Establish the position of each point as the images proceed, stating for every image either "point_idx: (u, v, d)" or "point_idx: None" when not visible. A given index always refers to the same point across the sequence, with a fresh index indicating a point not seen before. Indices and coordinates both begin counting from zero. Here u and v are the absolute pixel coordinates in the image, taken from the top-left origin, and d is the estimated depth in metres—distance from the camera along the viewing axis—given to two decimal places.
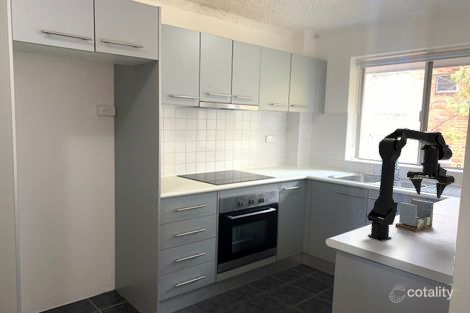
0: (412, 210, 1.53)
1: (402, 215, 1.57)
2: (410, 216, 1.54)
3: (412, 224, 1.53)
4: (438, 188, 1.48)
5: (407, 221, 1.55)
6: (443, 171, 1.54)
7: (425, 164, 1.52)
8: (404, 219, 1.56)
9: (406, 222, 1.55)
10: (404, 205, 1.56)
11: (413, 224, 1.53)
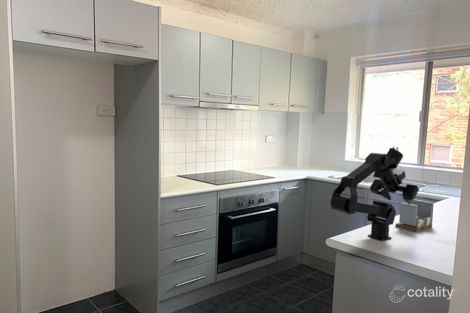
0: (412, 210, 1.53)
1: (402, 215, 1.57)
2: (410, 216, 1.54)
3: (412, 224, 1.53)
4: (407, 201, 1.43)
5: (407, 221, 1.55)
6: (402, 175, 1.45)
7: (384, 184, 1.43)
8: (404, 219, 1.56)
9: (406, 222, 1.55)
10: (404, 205, 1.56)
11: (413, 224, 1.53)
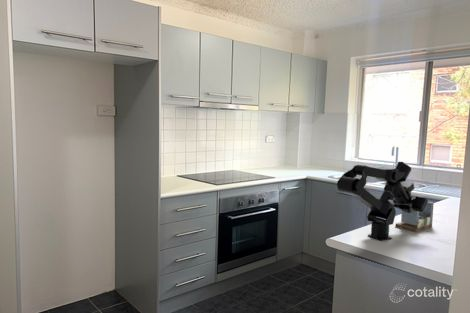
0: (414, 210, 1.54)
1: (404, 215, 1.58)
2: (412, 216, 1.55)
3: (414, 223, 1.54)
4: (406, 210, 1.51)
5: (409, 220, 1.56)
6: (411, 187, 1.50)
7: (394, 197, 1.48)
8: (406, 218, 1.57)
9: (408, 221, 1.56)
10: None
11: (415, 223, 1.54)
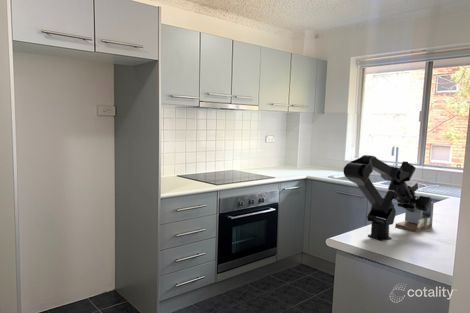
0: None
1: (408, 214, 1.59)
2: (416, 215, 1.57)
3: None
4: (410, 209, 1.53)
5: (413, 219, 1.58)
6: (415, 187, 1.52)
7: (398, 196, 1.50)
8: (410, 217, 1.59)
9: (412, 220, 1.58)
10: None
11: None
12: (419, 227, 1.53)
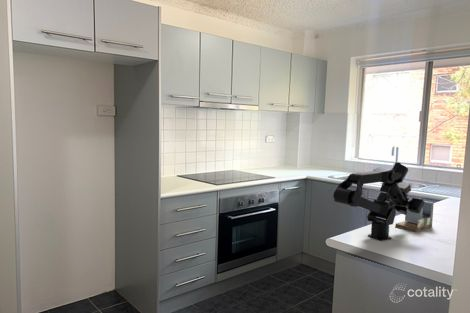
0: None
1: (408, 214, 1.59)
2: (416, 215, 1.57)
3: None
4: (403, 212, 1.50)
5: (413, 219, 1.58)
6: (408, 189, 1.49)
7: (390, 198, 1.46)
8: (410, 217, 1.59)
9: (412, 220, 1.58)
10: None
11: None
12: (419, 227, 1.53)
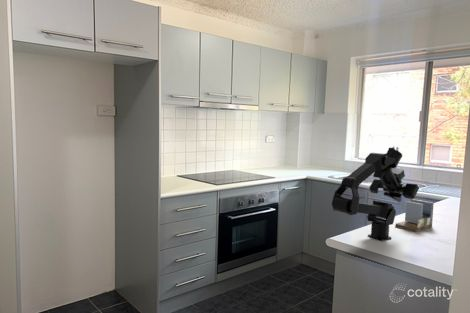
0: (418, 209, 1.56)
1: (408, 214, 1.59)
2: (416, 215, 1.57)
3: None
4: (397, 198, 1.46)
5: (413, 219, 1.58)
6: (401, 174, 1.45)
7: (384, 184, 1.43)
8: (410, 217, 1.59)
9: (412, 220, 1.58)
10: (410, 204, 1.59)
11: None
12: (419, 227, 1.53)
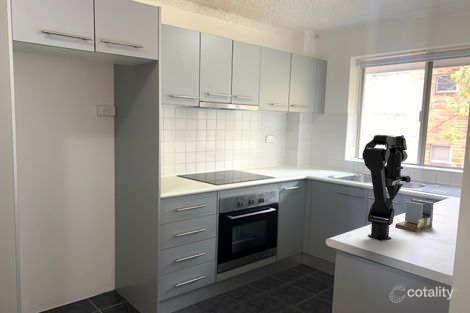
0: (418, 209, 1.56)
1: (408, 214, 1.59)
2: (416, 215, 1.57)
3: None
4: (399, 189, 1.52)
5: (413, 219, 1.58)
6: None
7: (399, 168, 1.49)
8: (410, 217, 1.59)
9: (412, 220, 1.58)
10: (410, 204, 1.59)
11: None
12: (419, 227, 1.53)
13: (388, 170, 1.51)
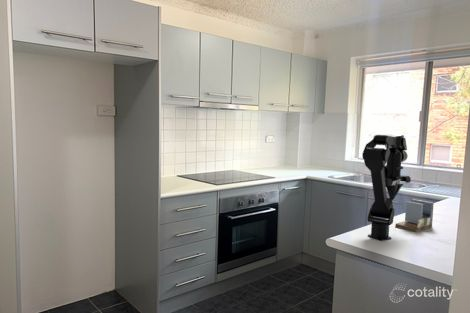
0: (418, 209, 1.56)
1: (408, 214, 1.59)
2: (416, 215, 1.57)
3: None
4: (399, 189, 1.52)
5: (413, 219, 1.58)
6: None
7: (399, 168, 1.49)
8: (410, 217, 1.59)
9: (412, 220, 1.58)
10: (410, 204, 1.59)
11: None
12: (419, 227, 1.53)
13: (388, 170, 1.51)
